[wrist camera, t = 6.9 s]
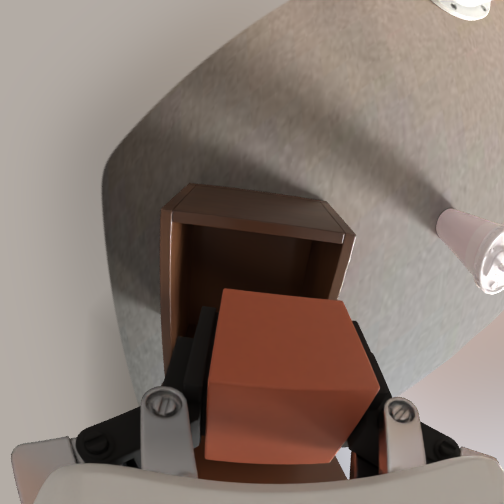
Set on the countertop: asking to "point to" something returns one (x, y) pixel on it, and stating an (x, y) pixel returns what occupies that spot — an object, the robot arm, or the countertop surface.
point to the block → (284, 380)
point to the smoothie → (475, 246)
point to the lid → (265, 471)
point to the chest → (244, 251)
